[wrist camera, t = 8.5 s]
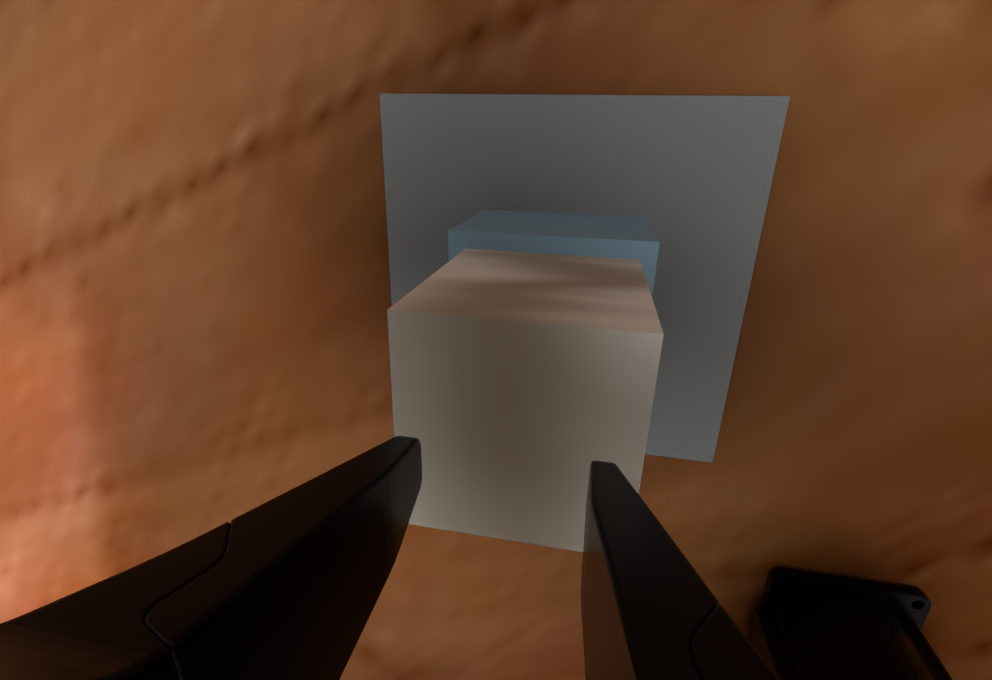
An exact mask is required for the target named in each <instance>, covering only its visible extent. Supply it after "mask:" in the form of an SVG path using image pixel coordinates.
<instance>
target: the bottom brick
mask: <svg viewBox="0 0 992 680" xmlns="http://www.w3.org/2000/svg"><path fill="white" fill-rule="evenodd" d="M659 244H660V241H659V240H658V238H657V236H656V234H655V233H654V231H653V229H652V227H651V226H650V224H649V222H648V221H647V219H646V217H633V216H611V215H590V214H568V213H547V212H525V211H504V210H483V211H481V212H479V213H478V214H476V215H474V216H472V217H471V218H469V219H467V220H465V221H464V222H462V223H460V224H458V225H457V226H455V227H453V228H452V229H450V230H448V260H449V261H450V260H452V259H453V258H454V257H455V256H457V255H458V254H459V253H460V252H462V251H463V250H464V249H466V248H469V249H484V250H500V251H515V252H531V253H547V254H562V255H578V256H593V257H609V258H625V259H640V261H641V264H642V267H643V271H644V274H645V277H646V280H647V283H648V286H649V289H650V293H651V296H652V294H653V287H654V280H655V273H656V265H657V258H658V251H659Z"/></svg>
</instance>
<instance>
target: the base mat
mask: <svg viewBox="0 0 992 680" xmlns="http://www.w3.org/2000/svg"><path fill="white" fill-rule="evenodd" d="M379 94H380V112H381V129H382V146H383V164H384V181H385V198H386V216H387V233H388V250H389V267H390V285H391V302H392V306H393V305H394V304H395V303H397V302H398V301H399V300H400V299H402V298H403V297H404V296H405V295H407V294H408V293H409V292H411V291H412V290H413V289H414V288H416V287H417V286H418V285H420V284H421V283H422V282H423V281H425V280H426V279H427V278H429V277H430V276H431V275H432V274H434V273H435V272H436V271H437V270H439V269H440V268H441V267H443V266H444V265H445V264H446V263H448V262H449V260H448V230H450V229H452V228H453V227H455V226H457V225H458V224H460V223H462V222H464V221H465V220H467V219H469V218H471V217H472V216H474V215H476V214H478V213H479V212H481V211H483V210H504V211H525V212H547V213H568V214H590V215H611V216H633V217H646V219H647V221H648V222H649V224H650V226H651V227H652V229H653V231H654V233H655V234H656V236H657V238H658V240H659V241H660V244H659V251H658V258H657V265H656V273H655V280H654V287H653V294H652V299H653V302H654V305H655V308H656V311H657V315H658V318H659V321H660V324H661V327H662V330H663V333H664V336H663V342H662V349H661V355H660V361H659V368H658V374H657V381H656V387H655V393H654V400H653V406H652V412H651V419H650V425H649V432H648V438H647V444H646V451H645V454H647V455H655V456H663V457H671V458H679V459H687V460H695V461H703V462H712V463H713V459H714V454H715V449H716V444H717V440H718V435H719V430H720V425H721V421H722V416H723V411H724V407H725V402H726V397H727V392H728V388H729V383H730V378H731V373H732V369H733V364H734V359H735V355H736V350H737V345H738V340H739V336H740V331H741V326H742V321H743V317H744V312H745V307H746V302H747V298H748V293H749V288H750V284H751V279H752V274H753V269H754V265H755V260H756V255H757V250H758V246H759V241H760V236H761V232H762V227H763V222H764V217H765V213H766V208H767V203H768V198H769V194H770V189H771V184H772V179H773V175H774V170H775V165H776V161H777V156H778V151H779V146H780V142H781V137H782V132H783V127H784V123H785V118H786V113H787V109H788V104H789V99H790V96H690V95H540V94H390V93H379Z"/></svg>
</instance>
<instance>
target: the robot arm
mask: <svg viewBox="0 0 992 680" xmlns="http://www.w3.org/2000/svg"><path fill="white" fill-rule="evenodd" d="M421 483H422V457H421V443H420V441H419V439H418V438H415V437H407V436H396V437H394V438H392V439H390V440H388V441H386V442H384V443H382V444H380V445H378V446H376V447H374V448H372V449H370V450H368V451H366V452H364V453H362V454H360V455H358V456H357V457H355V458H353V459H351V460H349V461H347V462H345V463H343V464H341V465H339V466H337V467H335V468H333V469H331V470H329V471H327V472H325V473H323V474H321V475H319V476H317V477H315V478H313V479H311V480H309V481H307V482H305V483H303V484H301V485H300V486H298V487H296V488H294V489H292V490H290V491H288V492H286V493H284V494H282V495H280V496H278V497H276V498H274V499H272V500H270V501H268V502H266V503H264V504H262V505H260V506H258V507H256V508H254V509H252V510H250V511H248V512H246V513H244V514H242V515H240V516H238V517H237V518H235V519H233V520H232V521H231V524H230V523H228V522H227V523H224V524H223V525H221V526H219V527H217V528H215V529H213V530H211V531H209V532H207V533H205V534H203V535H201V536H199V537H197V538H195V539H193V540H191V541H189V542H187V543H184V544H182V545H180V546H178V547H176V548H174V549H172V550H170V551H168V552H166V553H164V554H161V555H159V556H157V557H155V558H152V559H150V560H148V561H146V562H144V563H141V564H139V565H137V566H135V567H132V568H130V569H128V570H126V571H123V572H121V573H119V574H116V575H114V576H112V577H109V578H107V579H105V580H103V581H100V582H98V583H96V584H93V585H91V586H89V587H86V588H84V589H82V590H80V591H77V592H75V593H73V594H70V595H68V596H66V597H63V598H61V599H59V600H56V601H54V602H52V603H50V604H47V605H45V606H43V607H40V608H38V609H36V610H33V611H31V612H29V613H27V614H24V615H22V616H19V617H17V618H14V619H12V620H9V621H7V622H4V623H1V624H0V680H339V679H340V677H341V675H342V673H343V671H344V669H345V667H346V665H347V663H348V660H349V658H350V656H351V654H352V652H353V650H354V648H355V646H356V644H357V642H358V639H359V637H360V635H361V633H362V631H363V629H364V627H365V625H366V623H367V621H368V618H369V616H370V614H371V612H372V610H373V608H374V606H375V604H376V602H377V599H378V597H379V595H380V593H381V591H382V589H383V587H384V585H385V583H386V581H387V578H388V576H389V574H390V572H391V570H392V567H393V565H394V563H395V560H396V558H397V555H398V552H399V550H400V547H401V544H402V541H403V538H404V535H405V532H406V529H407V526H408V523H409V520H410V517H411V514H412V512H413V509H414V506H415V503H416V500H417V497H418V494H419V491H420V488H421ZM782 579H786V580H784V581H780V580H782ZM914 601H915V602H914ZM930 608H931V602H930V600H929V599H928V597H927V596H926V594H925V593H924V592H922V591H921V590H918V589H912V588H906V587H899V586H893V585H886V584H880V583H873V582H867V581H860V580H854V579H847V578H841V577H834V576H828V575H821V574H815V573H808V572H802V571H796V570H789V569H776V570H774V571H772V572H771V574H770V576H769V579H768V583H767V586H766V590H765V593H764V597H763V600H762V604H761V606H760V605H759V606H758V607H757V608H756V609H755V612H754V616H753V619H752V623H751V626H750V630H749V633H748V637H747V638H746V637H745V635H744V634H743V633H742V632H741V630H740V629H739V628H738V626H737V625H736V624H735V622H734V621H733V620H732V618H731V617H730V616H729V614H728V613H727V612H726V610H725V609H724V608H723V606H721V605H719V602H718V600H717V599H716V597H715V596H714V595H713V593H712V592H711V591H710V589H709V588H708V587H707V585H706V584H705V583H704V581H703V580H702V579H701V577H700V576H699V575H698V573H697V572H696V571H695V569H694V568H693V567H692V565H691V564H690V563H689V561H688V560H687V559H686V557H685V556H684V555H683V553H682V552H681V551H680V549H679V548H678V547H677V545H676V544H675V543H674V541H673V540H672V539H671V537H670V536H669V534H668V533H667V532H666V530H665V529H664V528H663V526H662V525H661V524H660V522H659V521H658V520H657V518H656V517H655V516H654V514H653V513H652V512H651V510H650V509H649V508H648V506H647V505H646V504H645V502H644V501H643V500H642V498H641V497H640V496H639V494H638V493H637V492H636V490H635V489H634V488H633V486H632V485H631V484H630V482H629V481H628V480H627V478H626V477H625V476H624V474H623V473H622V472H621V470H620V469H619V468H618V466H617V465H616V464H615V463H612V462H604V461H596V460H595V461H592V462H591V464H590V472H589V481H588V491H587V501H586V513H585V529H584V545H583V561H582V576H581V609H582V625H583V641H584V657H585V673H586V680H953V679H952V678H951V676H950V675H949V673H948V672H947V670H946V669H945V667H944V666H943V664H942V663H941V661H940V660H939V658H938V656H937V655H936V653H935V652H934V650H933V649H932V647H931V646H930V644H929V643H928V641H927V640H926V638H925V636H924V635H923V633H922V632H921V627H922V625H923V623H924V621H925V619H926V616H927V614H928V612H929V610H930Z"/></svg>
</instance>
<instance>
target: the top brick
mask: <svg viewBox="0 0 992 680" xmlns="http://www.w3.org/2000/svg"><path fill="white" fill-rule="evenodd" d="M387 317H388V334H389V352H390V369H391V386H392V404H393V421H394V437H396V436H407V437H415V438H418V439H419V441H420V443H421V457H422V483H421V488H420V491H419V494H418V497H417V500H416V503H415V506H414V509H413V512H412V514H411V517H410V520H409V523H408V524H412V525H418V526H425V527H431V528H437V529H443V530H449V531H455V532H462V533H468V534H474V535H480V536H486V537H492V538H499V539H505V540H511V541H517V542H523V543H529V544H536V545H542V546H548V547H554V548H560V549H566V550H573V551H579V552H583V545H584V529H585V513H586V501H587V491H588V481H589V472H590V464H591V462H592V461H595V460H596V461H604V462H612V463H615V464H616V465H617V466H618V468H619V469H620V470H621V472H622V473H623V474H624V476H625V477H626V478H627V480H628V481H629V482H630V484H631V485H632V486H633V488H634V489H635V490H636V492H637V493H638V494H639V489H640V483H641V476H642V470H643V463H644V457H645V451H646V444H647V438H648V432H649V425H650V419H651V412H652V406H653V400H654V393H655V387H656V381H657V374H658V368H659V361H660V355H661V349H662V342H663V336H664V333H663V330H662V327H661V324H660V321H659V318H658V315H657V311H656V308H655V305H654V302H653V299H652V296H651V293H650V289H649V286H648V283H647V280H646V277H645V274H644V271H643V267H642V264H641V261H640V259H625V258H609V257H593V256H578V255H562V254H547V253H531V252H515V251H500V250H484V249H469V248H466V249H464V250H463V251H462V252H460V253H459V254H458V255H457V256H455V257H454V258H453V259H452V260H450V261H449V262H448V263H446V264H445V265H444V266H443V267H441V268H440V269H439V270H437V271H436V272H435V273H434V274H432V275H431V276H430V277H429V278H427V279H426V280H425V281H423V282H422V283H421V284H420V285H418V286H417V287H416V288H414V289H413V290H412V291H411V292H409V293H408V294H407V295H405V296H404V297H403V298H402V299H400V300H399V301H398V302H397V303H395V304H394V305H393V306H391V307H390V308H389V309H388V310H387Z"/></svg>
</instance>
